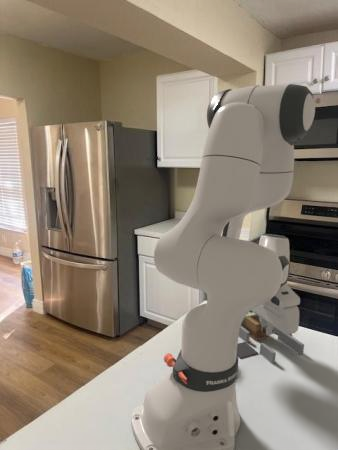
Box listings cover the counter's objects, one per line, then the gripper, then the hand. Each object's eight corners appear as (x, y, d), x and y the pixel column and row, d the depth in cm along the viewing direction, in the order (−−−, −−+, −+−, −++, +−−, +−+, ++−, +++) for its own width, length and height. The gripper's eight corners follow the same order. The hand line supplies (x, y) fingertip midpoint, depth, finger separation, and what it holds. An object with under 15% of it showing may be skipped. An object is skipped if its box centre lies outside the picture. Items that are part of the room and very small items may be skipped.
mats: (240, 358, 91) (240, 357, 91) (220, 340, 100) (220, 339, 100) (301, 341, 100) (301, 340, 100) (278, 326, 108) (278, 325, 108)
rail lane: (271, 363, 89) (273, 349, 88) (229, 328, 106) (230, 317, 105) (303, 354, 93) (304, 341, 92) (257, 322, 111) (258, 311, 110)
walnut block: (254, 340, 100) (256, 324, 99) (244, 332, 104) (245, 317, 103) (268, 336, 102) (269, 321, 101) (257, 328, 106) (258, 314, 105)
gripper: (239, 278, 104) (236, 319, 107) (286, 305, 86) (281, 353, 89) (256, 275, 107) (252, 315, 109) (305, 301, 88) (300, 348, 91)
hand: (266, 333), depth 99 cm, fingers closed
